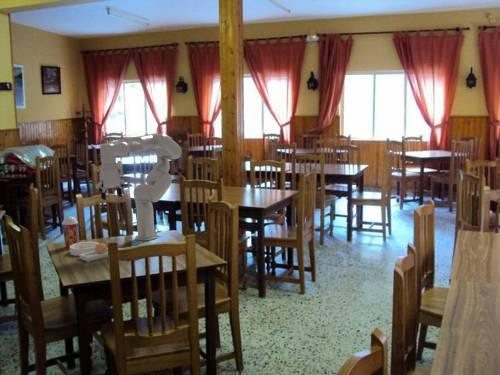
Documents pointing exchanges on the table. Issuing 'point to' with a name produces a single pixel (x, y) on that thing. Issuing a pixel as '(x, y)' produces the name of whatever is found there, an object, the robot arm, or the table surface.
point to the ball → (100, 248)
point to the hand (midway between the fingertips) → (112, 197)
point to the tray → (93, 256)
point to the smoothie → (70, 230)
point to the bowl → (82, 247)
